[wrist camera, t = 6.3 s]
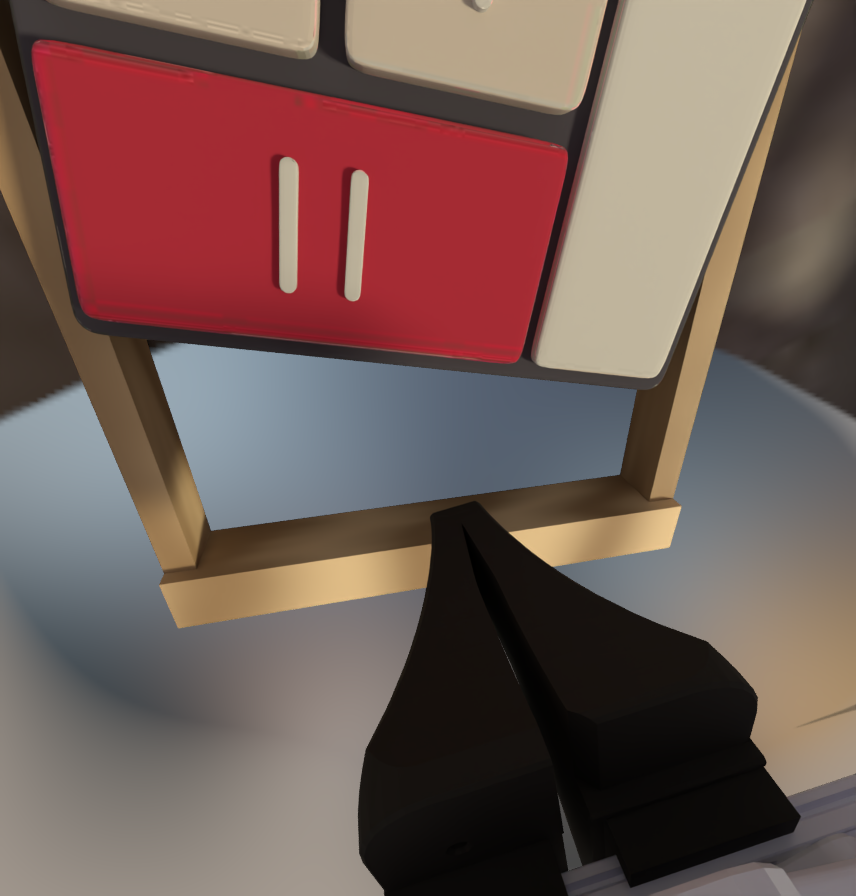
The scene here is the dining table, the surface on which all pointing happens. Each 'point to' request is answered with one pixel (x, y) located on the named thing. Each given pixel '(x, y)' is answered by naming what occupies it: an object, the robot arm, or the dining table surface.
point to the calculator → (401, 171)
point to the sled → (366, 531)
